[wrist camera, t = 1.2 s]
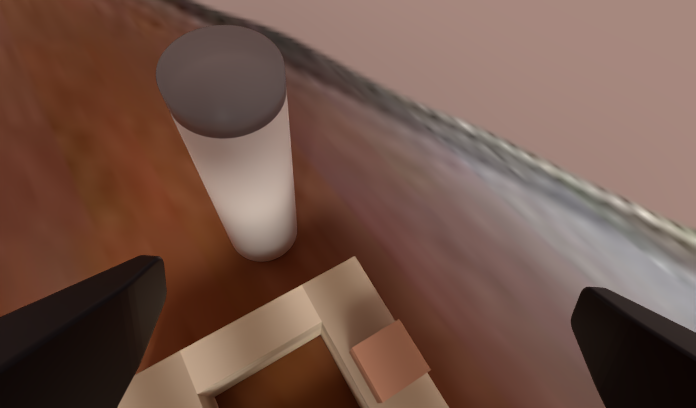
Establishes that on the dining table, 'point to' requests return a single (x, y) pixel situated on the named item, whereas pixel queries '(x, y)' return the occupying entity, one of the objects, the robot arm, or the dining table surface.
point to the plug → (236, 131)
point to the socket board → (289, 334)
